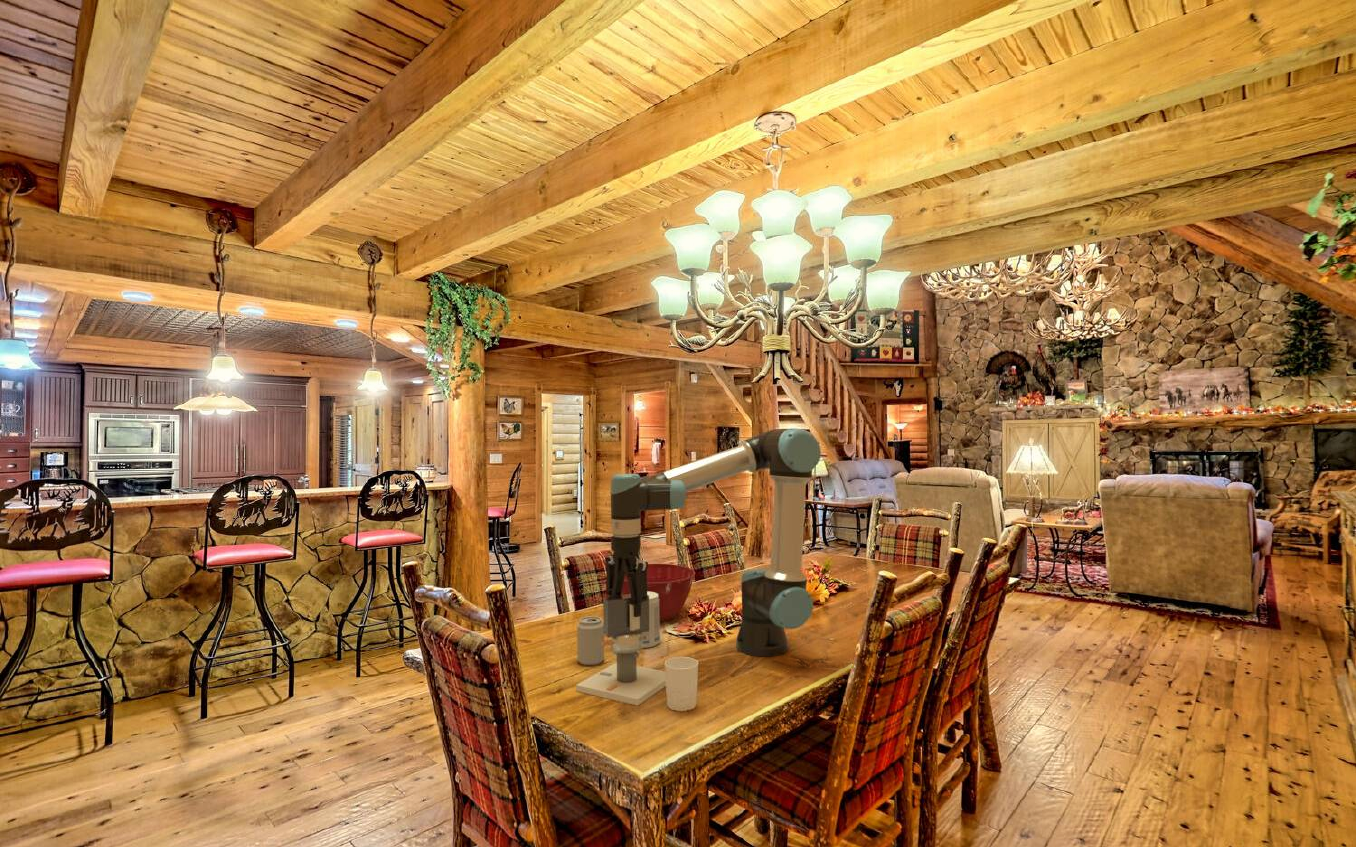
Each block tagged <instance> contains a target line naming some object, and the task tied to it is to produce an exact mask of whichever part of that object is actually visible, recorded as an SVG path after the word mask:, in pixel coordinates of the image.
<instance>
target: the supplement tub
mask: <svg viewBox="0 0 1356 847" xmlns="http://www.w3.org/2000/svg"><path fill="white" fill-rule="evenodd" d="M647 595H649V631H648V632H642V649H647V648H648V649H649V648H653V647H655V646H657V645H658V644H659V643H660V641H661V636H660V635H661V632H660V631H661V630H660V627H661V626H660V622H661V621H660V617H659V595H658V594H657V593H655V592H648V591H647Z"/></svg>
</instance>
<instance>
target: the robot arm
mask: <svg viewBox="0 0 1356 847" xmlns="http://www.w3.org/2000/svg"><path fill="white" fill-rule="evenodd" d="M821 451H822V450H821V445H820V443H819V441H818V439H817V438H816V437H815V435H813V434H812V433H811V432H809V431H808V430H806V429H801V428H775V429H769V430H767V431H765V432H762V433H760V434H758V435H755V436H752V437H750V438H748V439H744V440H742V441H740V442H739V444H738V446H734V447H732V448H729V449H726V450H724V451H720V452H718V453H715V454H713V455H709V456H705V457H703V458H700V459H698V460H694V461H692V462H689V463H685V464H683V465H680V466H677V467H674V468H671V469H668V470H665V471H662V472H660V473H657V474H653V475H651V476H643V477H641V476H640V475H639V474H638V473H619V474H618V473H617V474H614V475H613V476H612V477H611V479H610V492H609V493H610V494H609V495H610V528H611V529H610V533H611V534H612V536H611V537H610V550H611V551H612V552H613V553H612V555H610V556H606V557H604V562H605V566H606V567H605V568H606V571H605V572H606V574H605V575H606V576H605V580H606V582H605V586H606V587H605V593H606V596H607V597H611V596H619V595H621V593H622V587H623V582H624V577H625V575H626V577H627V578H628V583H629V588H630V594H631V599H632V602H631V603H630V630H631V631H633V630H636V629H639V628H640V616H641V603H642V602H645V601H647V568H648V564H649V562H648V561H643V560H641V557H640V554H639V552H640V550H641V548H642V545H641V542H642V541H641V539H642V537H641V536H640V534H641V532H642V531H641V530H642V528H641V512H643V511H661V510H671V511H673V510H679V509H682V508H684V507H685V505H686V502H687V493H688V492H690V491H692V490H696V489H699V488H701V487H705V486H707V485H710V484H713V483H717V482H718V481H721V480H723V479H727V478H730V477H734V476H735V475H738V474H741V473H743V472H747V471H748V472H750V473H754V472H757V471H761V470H769V477H770V479H772V481H773V483H774V485H773V486H774V487H773V490H774V491H773V505H772V506H773V508H772V522H771V523H772V525H771V526H772V527H771V547H770V562H769V563H770V565H769V566H770V567H769V568H753V569H746V570H744V571H743V572H742V573H741V583H740V584H741V617H742V618H741V623H740V625H739V626H740V627H739V630H738V633H737V636H736V641H735V642H736V649H737V650H738V651H740V653H744V654H746V655H750V656H756V657H757V656H758V657H772V656H779V655H781V654H784V653H786V652H787V651H788V650H789V641H788V638H787V635H786V634H787V633H786V631H785V630H794V629H798V628H800V627H802V626H804V624H805V623H806V622H808V620H809V619H810V618H811V615H812V614H813V609H814V602H813V601H814V600H813V597H812V595H811V594H810V592H809V591H808V590H807V581H808V580H807V579H808V578H807V576H806V574H804V572H803V570H802V567H803V550H804V549H803V548H804V544H803V543H804V525H805V508H806V507H805V506H806V491H807V489H806V487H807V486H806V485H807V484H808V483H809V482H810V481H811V480H812V479H813V470H814V469H816V466H817V465H818V464H819V462H820V459H821V453H822V452H821ZM630 572H633V573H630ZM636 598H637V599H636Z"/></svg>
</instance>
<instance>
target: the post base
mask: <svg viewBox="0 0 1356 847" xmlns="http://www.w3.org/2000/svg"><path fill="white" fill-rule="evenodd" d="M613 654H614V655H616V662H614V663H613V664H611V665H609V666H607V667H606V668H604V669H602V670H600V671H599V672H597V673H595V674H593V675H592V676H589V677H588V678H586V679H584V680H582V681H581V682H579V683H577V684H575V685H576V686H575V688H576V689H575V692H578V693H582V694H586V695H591V696H595V697H599V698H603V699H608V700H613V701H616V702H620V703H625V704H629V705H633V706H636V707H638V706H640V705H641V704H642V703H644V702H646V701H647V700H648V699H649V698H651V697H652V696H654V695H655V694H656V693H658V692H659V691H661V690H662V689H664V688H666V683H665V670H661V669H655V668H650V667H644V666H640V665H638V664H637V662H638V660H637V659H638V658H640V652H635V653H628V654H622V653H616V652H613Z"/></svg>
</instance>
